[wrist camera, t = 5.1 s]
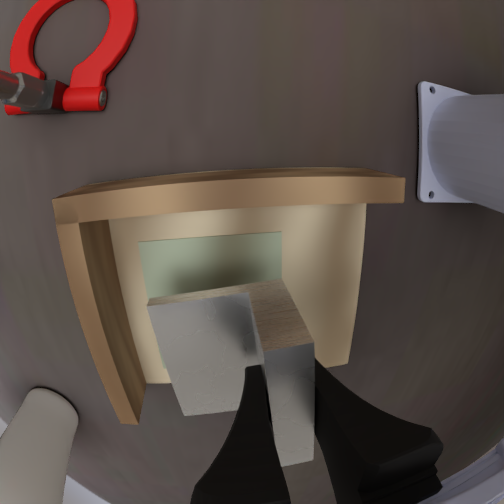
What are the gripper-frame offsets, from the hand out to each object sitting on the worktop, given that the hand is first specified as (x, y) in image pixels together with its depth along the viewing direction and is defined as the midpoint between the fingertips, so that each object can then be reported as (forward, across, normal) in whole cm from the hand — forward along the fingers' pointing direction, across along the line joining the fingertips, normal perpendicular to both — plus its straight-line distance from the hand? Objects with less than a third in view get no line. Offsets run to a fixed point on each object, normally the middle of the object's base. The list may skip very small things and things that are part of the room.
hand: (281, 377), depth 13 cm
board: (+7, +1, -1) cm, 7 cm away
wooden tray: (+7, +1, -1) cm, 7 cm away
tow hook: (+7, +9, -18) cm, 21 cm away
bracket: (+2, +2, 0) cm, 3 cm away
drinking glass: (+7, +19, +8) cm, 22 cm away
